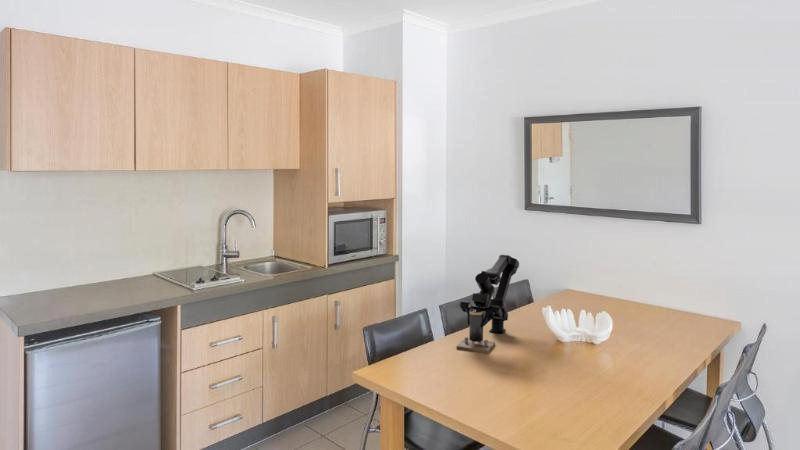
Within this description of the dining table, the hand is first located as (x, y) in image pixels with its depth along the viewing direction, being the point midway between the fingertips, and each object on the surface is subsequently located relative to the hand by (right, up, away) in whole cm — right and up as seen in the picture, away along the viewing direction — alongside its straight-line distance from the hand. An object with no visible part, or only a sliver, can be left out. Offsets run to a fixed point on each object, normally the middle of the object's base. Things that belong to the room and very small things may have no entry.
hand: (475, 325), depth 239 cm
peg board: (+1, -10, +2) cm, 10 cm away
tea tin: (+1, -6, +2) cm, 7 cm away
